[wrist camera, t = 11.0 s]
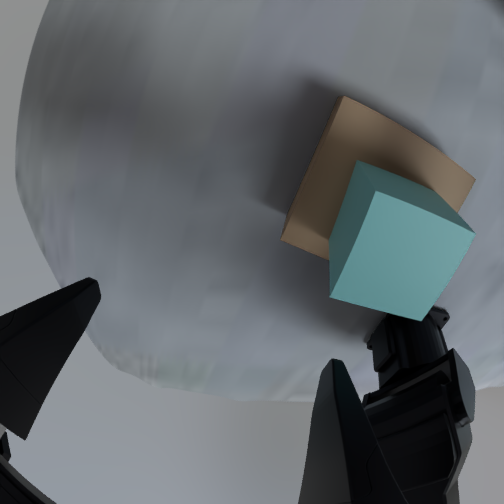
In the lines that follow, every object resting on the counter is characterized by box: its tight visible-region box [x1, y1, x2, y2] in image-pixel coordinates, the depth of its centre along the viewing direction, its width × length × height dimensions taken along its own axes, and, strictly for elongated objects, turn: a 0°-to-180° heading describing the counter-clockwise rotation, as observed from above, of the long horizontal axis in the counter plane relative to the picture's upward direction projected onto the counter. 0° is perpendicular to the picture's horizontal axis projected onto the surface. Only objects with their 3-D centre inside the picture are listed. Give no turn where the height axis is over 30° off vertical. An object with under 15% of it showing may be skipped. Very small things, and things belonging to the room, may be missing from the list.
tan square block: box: [280, 96, 476, 261], centre depth 15 cm, size 9×9×4 cm
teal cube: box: [329, 160, 476, 321], centre depth 12 cm, size 5×5×5 cm
